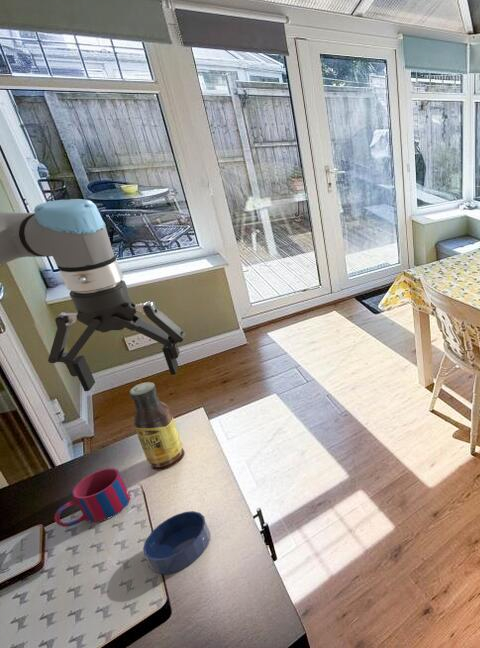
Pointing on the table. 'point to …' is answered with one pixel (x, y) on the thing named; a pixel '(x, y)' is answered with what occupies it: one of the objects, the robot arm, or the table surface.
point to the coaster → (170, 464)
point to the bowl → (177, 542)
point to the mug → (97, 497)
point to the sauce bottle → (155, 426)
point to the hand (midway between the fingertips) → (134, 378)
